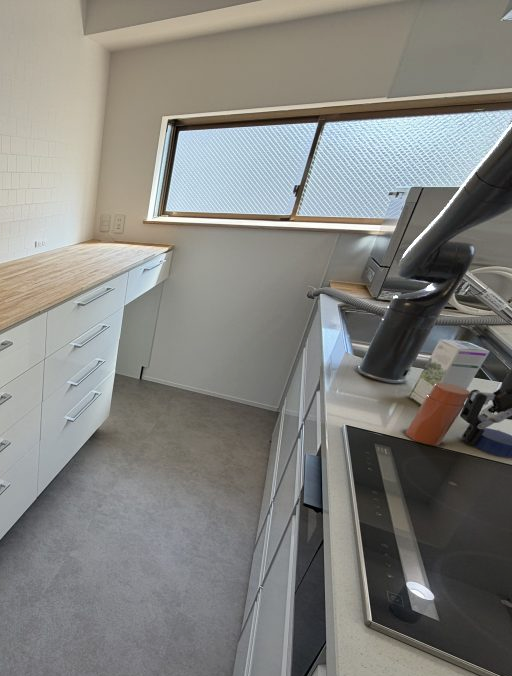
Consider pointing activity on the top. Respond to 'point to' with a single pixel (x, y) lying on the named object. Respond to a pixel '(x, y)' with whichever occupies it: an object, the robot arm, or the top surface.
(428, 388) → the syrup box
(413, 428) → the jam jar
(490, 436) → the jar lid
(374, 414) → the top surface
